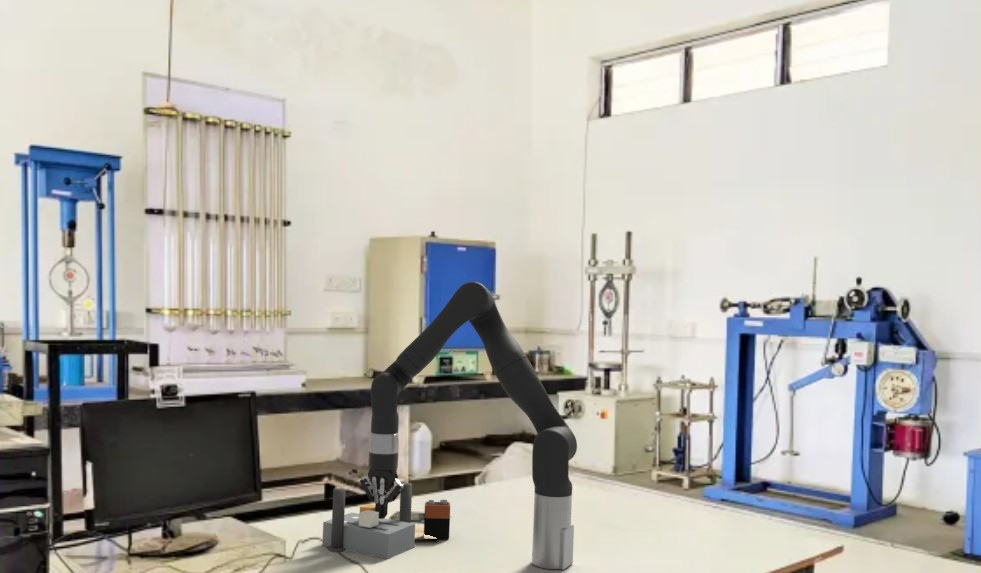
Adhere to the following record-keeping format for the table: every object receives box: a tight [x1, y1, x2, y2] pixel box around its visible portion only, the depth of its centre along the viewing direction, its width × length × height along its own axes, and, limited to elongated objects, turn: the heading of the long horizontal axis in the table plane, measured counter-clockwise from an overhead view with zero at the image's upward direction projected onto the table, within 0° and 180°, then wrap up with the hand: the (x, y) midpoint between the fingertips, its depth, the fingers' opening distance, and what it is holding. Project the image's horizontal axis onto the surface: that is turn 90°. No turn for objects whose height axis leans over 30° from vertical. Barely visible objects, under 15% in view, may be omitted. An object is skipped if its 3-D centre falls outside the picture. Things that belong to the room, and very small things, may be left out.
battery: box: [423, 499, 451, 541], centre depth 224 cm, size 4×7×10 cm, turn 93°
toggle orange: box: [359, 503, 375, 513], centre depth 216 cm, size 4×4×3 cm
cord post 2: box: [398, 482, 413, 523], centre depth 219 cm, size 4×4×15 cm
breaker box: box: [322, 512, 416, 560], centre depth 214 cm, size 20×12×6 cm, turn 63°
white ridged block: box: [358, 510, 379, 528], centre depth 210 cm, size 4×4×3 cm
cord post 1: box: [327, 487, 346, 553], centre depth 210 cm, size 4×4×15 cm
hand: (380, 517), depth 214 cm, fingers closed
